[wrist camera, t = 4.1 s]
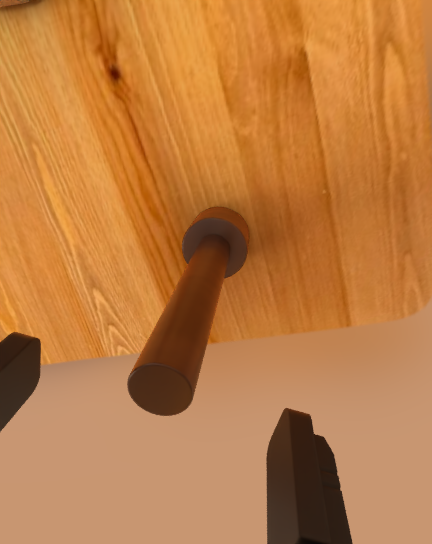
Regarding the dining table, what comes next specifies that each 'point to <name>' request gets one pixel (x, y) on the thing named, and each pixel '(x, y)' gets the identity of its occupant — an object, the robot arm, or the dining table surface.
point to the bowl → (12, 2)
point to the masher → (189, 314)
